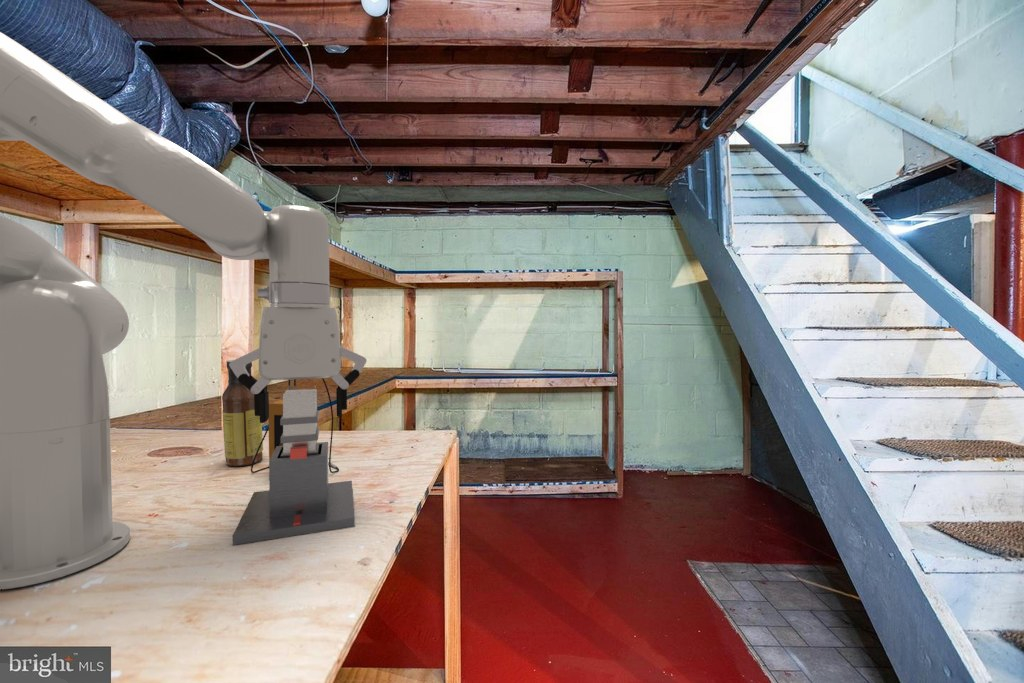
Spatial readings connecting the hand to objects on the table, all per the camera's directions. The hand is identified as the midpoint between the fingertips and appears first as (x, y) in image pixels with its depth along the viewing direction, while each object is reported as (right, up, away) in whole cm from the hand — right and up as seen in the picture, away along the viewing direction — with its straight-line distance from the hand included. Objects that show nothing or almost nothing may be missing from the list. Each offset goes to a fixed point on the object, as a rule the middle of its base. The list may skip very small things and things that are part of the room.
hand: (303, 417), depth 60 cm
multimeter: (-9, -13, +19) cm, 24 cm away
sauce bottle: (-22, -13, +21) cm, 33 cm away
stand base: (0, -14, +1) cm, 14 cm away
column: (0, -12, 0) cm, 12 cm away
